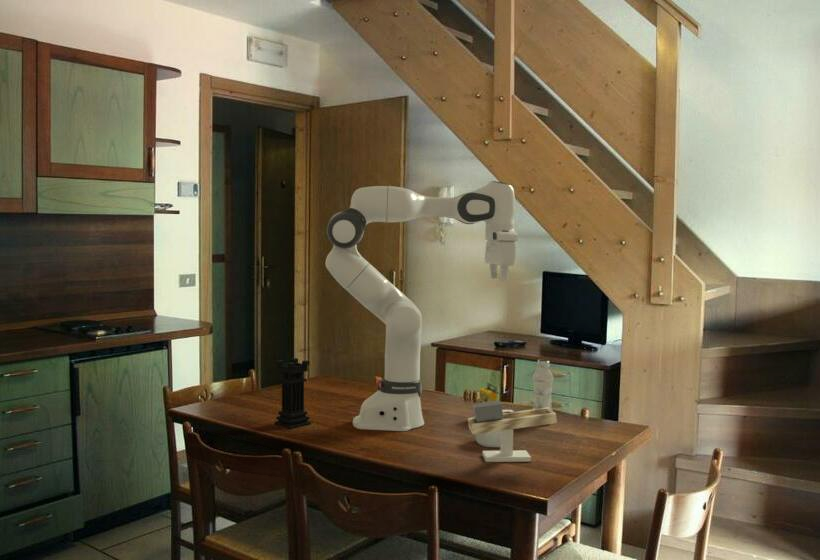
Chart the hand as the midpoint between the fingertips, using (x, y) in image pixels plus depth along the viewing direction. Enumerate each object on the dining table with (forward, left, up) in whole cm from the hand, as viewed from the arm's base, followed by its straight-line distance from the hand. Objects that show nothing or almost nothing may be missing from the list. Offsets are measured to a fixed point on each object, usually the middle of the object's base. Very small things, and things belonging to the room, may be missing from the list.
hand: (498, 279), depth 232 cm
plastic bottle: (+16, +3, -46) cm, 49 cm away
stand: (-3, -33, -46) cm, 57 cm away
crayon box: (-1, +6, -46) cm, 47 cm away
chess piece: (-63, +3, -46) cm, 78 cm away
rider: (-9, -39, -35) cm, 53 cm away
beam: (-3, -38, -35) cm, 52 cm away
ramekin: (-4, -19, -46) cm, 50 cm away
